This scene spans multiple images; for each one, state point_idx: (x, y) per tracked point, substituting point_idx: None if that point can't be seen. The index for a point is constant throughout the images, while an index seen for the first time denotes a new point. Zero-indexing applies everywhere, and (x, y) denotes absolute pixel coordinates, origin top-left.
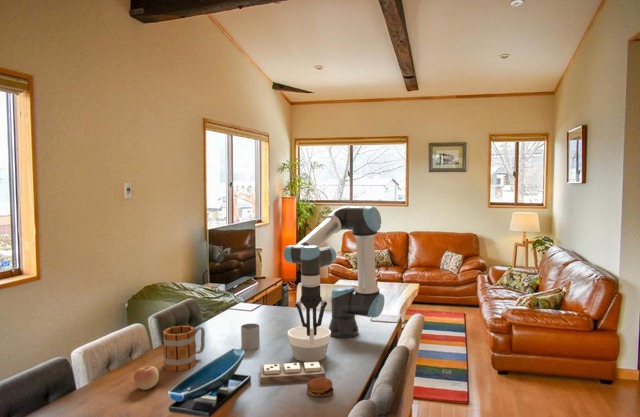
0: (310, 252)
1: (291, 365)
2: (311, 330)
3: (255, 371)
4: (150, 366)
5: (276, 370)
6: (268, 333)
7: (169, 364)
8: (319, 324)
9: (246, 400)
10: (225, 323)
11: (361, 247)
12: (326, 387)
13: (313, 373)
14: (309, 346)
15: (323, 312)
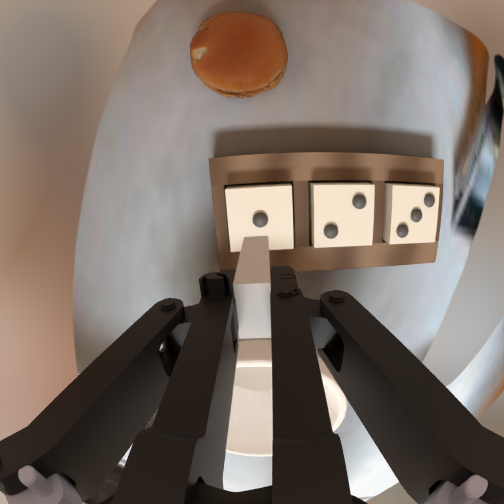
0: None
1: (346, 222)
2: (256, 274)
3: (437, 255)
4: None
5: (402, 185)
6: (345, 455)
7: None
8: (167, 304)
9: (451, 63)
10: None
11: None
12: (214, 15)
13: (257, 159)
14: (264, 342)
15: (68, 388)
